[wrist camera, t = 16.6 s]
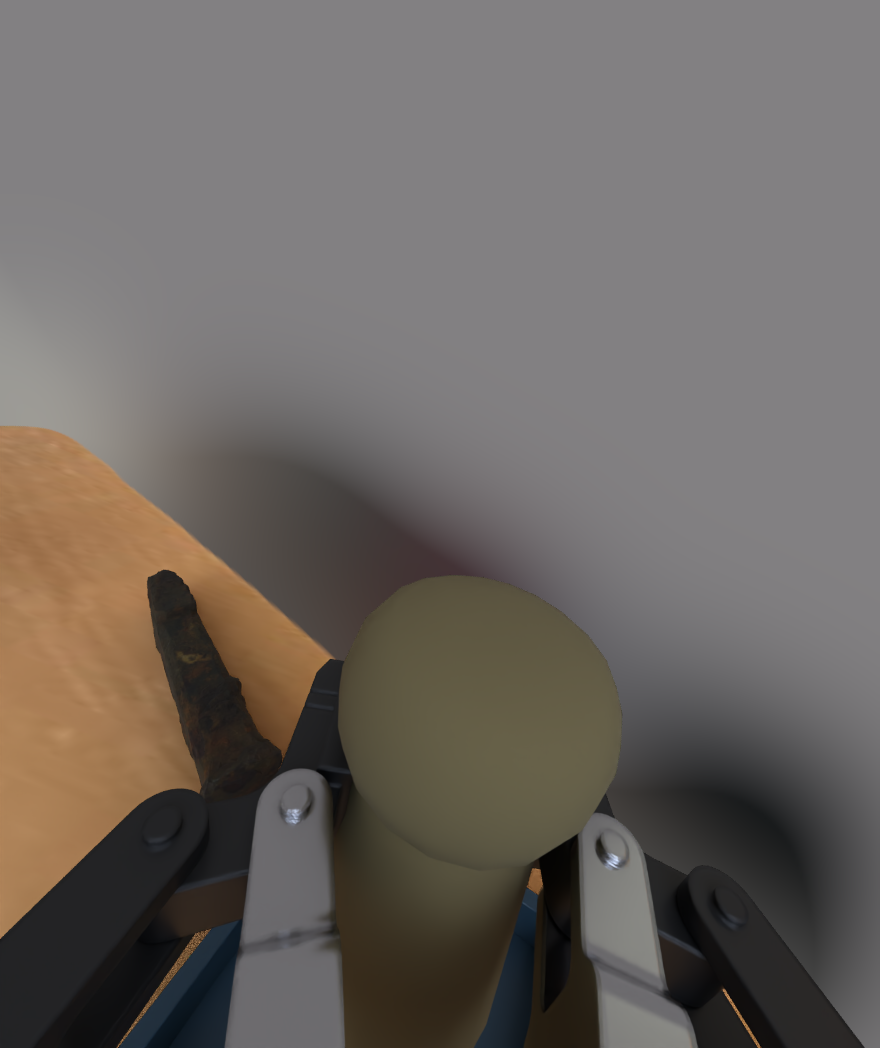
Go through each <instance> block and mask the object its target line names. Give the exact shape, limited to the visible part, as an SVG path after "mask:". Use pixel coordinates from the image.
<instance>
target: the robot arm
mask: <svg viewBox="0 0 880 1048" xmlns="http://www.w3.org/2000/svg"><path fill="white" fill-rule="evenodd" d="M343 664H344V661H340V660H334V659H330V660H329V661H328V662H327V663H326V664H325V665H324V666H323V667H322V668H321V669H320V670H319V671H318V672H317V673H316V676H315V679H314V681H313V684H312V686H311V689H310V693H309V694H308V697H307V700H306V702H305V706H304V707H303V710H302V713H301V715H300V718H299V721H298V723H297V726H296V728H295V731H294V734H293V736H292V739H291V742H290V744H289V747H288V749H287V752H286V755H285V757H284V760H283V762H282V765H281V767H280V768H279V770H278V772H277V773H276V774H275V775H274V777H273V778H272V779H271V780H270V781H269V782H268V783H267V784H265V785H264V786H263V787H261V788H260V789H258V790H256V791H254V792H252V793H250V794H247V795H245V796H241V797H237V798H232V799H227V800H222V801H216V802H211V803H206V801H205V799H204V798H203V797H202V796H201V795H200V794H198V793H197V792H195V791H192V790H189V789H171V790H167V791H163V792H161V793H158V794H156V795H154V796H152V797H150V798H148V799H146V800H145V801H144V802H142V803H141V804H139V805H138V806H137V807H136V808H135V809H134V810H132V811H131V812H130V813H129V814H128V815H127V816H126V817H125V818H124V819H123V820H122V821H121V822H120V823H119V824H118V825H117V826H116V827H115V828H114V829H113V830H112V831H111V832H110V833H109V834H108V835H107V836H106V837H105V838H104V839H103V840H102V841H101V842H100V843H98V844H97V845H96V846H95V847H94V848H93V849H92V850H91V851H90V852H89V853H88V854H87V855H86V856H85V857H84V858H83V859H82V860H81V861H80V862H79V863H78V864H77V865H76V866H75V867H74V868H73V869H72V870H71V871H70V872H69V873H68V874H67V875H66V876H65V877H63V878H62V879H61V880H60V881H59V882H58V883H57V884H56V885H55V886H54V887H53V888H52V889H51V890H50V891H49V892H48V893H47V894H46V895H45V896H44V897H43V898H42V899H41V900H40V901H39V902H38V903H37V904H36V905H35V906H34V907H33V908H32V909H31V910H30V911H29V912H27V913H26V914H25V915H24V916H23V917H22V918H21V919H20V920H19V921H18V922H17V923H16V924H15V925H14V926H13V927H12V928H11V929H10V930H9V931H8V932H7V933H6V934H5V935H4V936H3V937H2V938H1V939H0V1048H116V1047H117V1046H118V1044H119V1043H120V1041H121V1040H122V1038H123V1037H124V1036H125V1034H126V1033H127V1031H128V1030H129V1028H130V1027H131V1025H132V1024H133V1023H134V1021H135V1020H136V1018H137V1017H138V1015H139V1014H140V1012H141V1011H142V1010H143V1008H144V1007H145V1005H146V1004H147V1002H148V1001H149V1000H150V998H151V997H152V995H153V994H154V992H155V991H156V989H157V988H158V987H159V985H160V984H161V982H162V981H163V979H164V978H165V976H166V975H167V974H168V972H169V971H170V969H171V968H172V966H173V965H174V963H175V962H176V961H177V959H178V958H179V956H180V955H181V953H182V952H183V950H184V949H185V948H186V946H187V945H188V943H189V942H190V940H191V939H192V937H193V936H194V935H195V933H198V932H201V931H205V930H208V929H211V928H215V927H218V926H221V925H225V924H228V923H231V922H235V921H238V920H242V919H243V922H242V930H241V938H240V944H239V949H238V953H237V959H236V965H235V972H234V979H233V986H232V994H231V1002H230V1009H229V1017H228V1025H227V1033H226V1041H225V1048H345V1035H344V1005H343V976H342V952H341V939H340V932H339V928H338V926H337V922H336V906H335V868H334V838H335V836H336V834H337V831H338V829H339V827H340V825H341V823H342V821H343V818H344V816H345V813H346V808H347V803H348V798H349V794H350V789H351V784H352V779H353V778H352V775H351V772H350V769H349V766H348V763H347V760H346V757H345V754H344V751H343V748H342V743H341V738H340V734H339V729H338V712H339V688H340V680H341V673H342V666H343ZM532 868H536V869H540V871H541V876H542V882H543V886H542V887H541V889H540V891H539V894H538V898H537V913H536V932H535V952H534V972H533V992H532V1009H531V1017H530V1023H529V1028H528V1031H527V1035H526V1038H525V1042H524V1047H523V1048H758V1047H757V1046H756V1044H755V1043H754V1041H753V1039H752V1038H751V1036H750V1034H749V1033H748V1031H747V1030H746V1028H745V1026H744V1025H743V1023H742V1021H741V1020H740V1018H739V1017H738V1015H737V1013H736V1012H735V1010H734V1009H733V1007H732V1005H731V1004H730V1002H729V1000H728V999H727V997H726V996H725V994H724V992H723V991H722V990H723V989H724V988H725V990H726V991H727V993H728V995H729V996H730V998H731V999H732V1001H733V1003H734V1004H735V1006H736V1007H737V1009H738V1011H739V1012H740V1014H741V1016H742V1017H743V1019H744V1020H745V1022H746V1024H747V1025H748V1027H749V1028H750V1030H751V1032H752V1033H753V1035H754V1036H755V1038H756V1040H757V1041H758V1043H759V1044H760V1046H761V1048H864V1046H863V1045H862V1044H861V1042H860V1041H859V1040H858V1038H857V1037H856V1036H855V1035H854V1034H853V1032H852V1030H851V1029H850V1028H849V1027H848V1025H847V1024H846V1023H845V1021H844V1020H843V1019H842V1017H841V1016H840V1015H839V1013H838V1012H837V1011H836V1009H835V1008H834V1007H833V1006H832V1004H831V1003H830V1002H829V1000H828V999H827V998H826V996H825V995H824V994H823V992H822V991H821V990H820V989H819V987H818V986H817V984H816V983H815V982H814V981H813V979H812V978H811V977H810V975H809V974H808V973H807V971H806V970H805V969H804V967H803V966H802V965H801V963H800V962H799V961H798V959H797V958H796V957H795V956H794V954H793V953H792V952H791V950H790V949H789V948H788V947H787V945H786V944H785V942H784V941H783V940H782V939H781V937H780V936H779V935H778V933H777V932H776V931H775V929H774V928H773V927H772V925H771V924H770V923H769V922H768V920H767V919H766V917H765V916H764V915H763V913H762V912H761V911H760V910H759V908H758V907H757V906H756V904H755V903H754V902H753V900H752V899H751V898H750V897H749V895H748V894H747V893H746V892H745V891H744V890H743V889H742V888H741V887H740V885H739V884H737V883H736V882H735V881H734V880H733V879H732V878H730V877H729V876H728V875H726V874H725V873H723V872H721V871H720V870H718V869H716V868H713V867H710V866H703V865H702V866H697V867H695V868H694V869H693V870H692V871H691V872H690V874H688V875H686V874H684V873H682V872H679V871H678V870H675V869H674V868H672V867H670V866H668V865H665V864H664V863H662V862H660V861H658V860H656V859H654V858H652V857H650V856H649V855H647V854H645V853H644V852H643V851H642V849H641V847H640V845H639V843H638V842H637V841H636V839H635V837H634V836H633V835H632V834H631V832H630V831H629V830H628V829H627V828H626V827H625V826H624V825H622V824H621V823H620V822H619V821H617V820H616V819H615V818H614V815H613V813H612V810H611V807H610V804H609V801H608V798H607V796H606V793H605V794H604V796H603V798H602V800H601V801H600V803H599V805H598V807H597V808H596V810H595V811H594V813H593V814H592V816H591V818H590V819H589V821H588V822H587V824H586V825H585V827H584V828H583V830H582V831H581V832H579V833H578V834H576V835H575V836H573V837H571V838H570V839H568V840H567V841H565V842H563V843H562V844H560V845H559V846H557V847H555V848H554V849H552V850H551V851H549V852H547V853H546V854H544V855H543V856H541V857H539V858H538V859H536V860H534V864H533V867H532Z"/></svg>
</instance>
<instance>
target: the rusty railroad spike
mask: <svg viewBox="0 0 880 1048" xmlns="http://www.w3.org/2000/svg"><path fill="white" fill-rule="evenodd" d="M147 588H148V598H149V606H150V609H151V617H152V623H153V628H154V637H155V642H156V648H157V649H158V651H159V653H160V654H161V657H162V661H163V664H164V669H165V672H166V675H167V679H168V682H169V686H170V689H171V693H172V696H173V698H174V700H175V702H176V706H177V709H178V712H179V715H180V723H181V726H182V732H183V736H184V739H185V742H186V745H187V746H188V748H189V752H190V755H191V757H192V758H193V760H194V761H195V765H196V768H197V771H198V774H199V778H200V782H201V786H202V788H201V790H200V795H201V796H202V797H203V798H204V799H205V801H206V803H211V802H216V801H222V800H227V799H232V798H237V797H241V796H245V795H247V794H250V793H252V792H254V791H256V790H258V789H260V788H261V787H263V786H264V785H265V784H267V783H268V782H269V781H270V780H271V779H272V778H273V777H274V775H275V774H276V773H277V772H278V770H279V768H280V765H281V764H282V754H281V750H280V749H278V748H277V747H276V746H274V745H273V744H272V743H271V742H270V741H269V740H268V739H264V738H263V737H262V736H261V735H260V734H259V732H258V730H257V729H256V726H255V724H254V722H253V720H252V718H251V716H250V714H249V713H248V711H247V709H246V703H245V699H244V697H243V696H242V695H241V682H240V681H239V679H238V678H235V677H231V676H230V675H229V673H228V672H227V670H226V667H225V666H224V664H223V662H222V660H221V657H220V655H219V653H218V651H217V650H216V648H215V647H214V645H213V642H212V640H211V638H210V637H209V635H208V633H207V631H206V629H205V627H204V625H203V624H202V621H201V619H200V617H199V615H198V613H197V606H196V601H195V599H194V597H193V595H192V594H191V593H190V590H189V587H188V586H187V585H186V584H184V582H183V580H182V578H180V577H179V576H177V575H176V573H175V572H172V571H169V570H162V571H160V572H158V573H157V574H155V575H153V576H151V577H148V580H147Z"/></svg>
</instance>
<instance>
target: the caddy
mask: <svg viewBox="0 0 880 1048" xmlns="http://www.w3.org/2000/svg"><path fill="white" fill-rule="evenodd" d="M537 898H538V895H537V894H536V893H534V892H533V891H531V890H530V889H528V888H526V891H525V894H524V898H523V901H522V905H521V908H520V911H519V915H518V918H517V922H516V925H515V928H514V932H513V935H512V939H511V942H510V945H509V949H508V952H507V956H506V959H505V962H504V966H503V969H502V973H501V976H500V979H499V983H498V986H497V990H496V993H495V996H494V1000H493V1003H492V1007H491V1010H490V1013H489V1017H488V1020H487V1024H486V1026H485V1028H484V1030H483V1032H482V1033H481V1035H480V1037H479V1039H478V1041H477V1042H476V1044H475V1046H474V1048H523V1047H524V1042H525V1038H526V1035H527V1031H528V1028H529V1023H530V1017H531V1009H532V992H533V972H534V952H535V932H536V913H537ZM242 922H243V919H242V920H238V921H235V922H231V923H228V924H225V925H221V926H218V927H215V928H212V929H211V930H210V931H209V933H208V934H207V935H206V936H205V938H204V939H203V940H202V941H201V943H200V944H199V945H198V947H197V948H196V949H195V950H194V952H193V953H192V954H191V955H190V957H189V958H188V959H187V961H186V962H185V963H184V964H183V966H182V967H181V968H180V969H179V971H178V972H177V973H176V975H175V976H174V977H173V978H172V980H171V981H170V982H169V983H168V985H167V986H166V987H165V989H164V990H163V991H162V992H161V994H160V995H159V996H158V998H157V999H156V1000H155V1001H154V1003H153V1004H152V1005H151V1006H150V1008H149V1009H148V1010H147V1012H146V1013H145V1014H144V1015H143V1017H142V1018H141V1019H140V1020H139V1022H138V1023H137V1024H136V1026H135V1027H134V1028H133V1029H132V1031H131V1032H130V1033H129V1034H128V1036H127V1037H126V1038H125V1040H124V1041H123V1042H122V1043H121V1045H120V1046H119V1047H118V1048H225V1041H226V1033H227V1025H228V1017H229V1009H230V1002H231V994H232V986H233V979H234V972H235V965H236V959H237V953H238V949H239V944H240V938H241V930H242Z"/></svg>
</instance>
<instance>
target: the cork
mask: <svg viewBox="0 0 880 1048" xmlns="http://www.w3.org/2000/svg"><path fill="white" fill-rule="evenodd" d="M338 729H339V734H340V738H341V743H342V748H343V751H344V754H345V757H346V760H347V763H348V766H349V769H350V772H351V775H352V778H353V779H352V784H351V789H350V794H349V798H348V803H347V808H346V813H345V816H344V818H343V821H342V823H341V825H340V827H339V829H338V831H337V834H336V836H335V838H334V868H335V906H336V922H337V926H338V928H339V932H340V939H341V952H342V976H343V1005H344V1035H345V1048H474V1046H475V1044H476V1042H477V1041H478V1039H479V1037H480V1035H481V1033H482V1032H483V1030H484V1028H485V1026H486V1024H487V1020H488V1017H489V1013H490V1010H491V1007H492V1003H493V1000H494V996H495V993H496V990H497V986H498V983H499V979H500V976H501V973H502V969H503V966H504V962H505V959H506V956H507V952H508V949H509V945H510V942H511V939H512V935H513V932H514V928H515V925H516V922H517V918H518V915H519V911H520V908H521V905H522V901H523V898H524V894H525V891H526V888H527V884H528V881H529V877H530V874H531V871H532V867H533V864H534V860H536V859H538V858H539V857H541V856H543V855H544V854H546V853H547V852H549V851H551V850H552V849H554V848H555V847H557V846H559V845H560V844H562V843H563V842H565V841H567V840H568V839H570V838H571V837H573V836H575V835H576V834H578V833H579V832H581V831H582V830H583V828H584V827H585V825H586V824H587V822H588V821H589V819H590V818H591V816H592V814H593V813H594V811H595V810H596V808H597V807H598V805H599V803H600V801H601V800H602V798H603V796H604V794H605V793H606V791H607V789H608V787H609V786H610V784H611V782H612V780H613V779H614V777H615V775H616V770H617V765H618V760H619V755H620V749H621V731H622V710H621V706H620V701H619V697H618V692H617V688H616V685H615V682H614V680H613V677H612V674H611V671H610V669H609V666H608V663H607V660H606V659H605V658H604V656H603V655H602V654H601V652H600V651H599V650H598V648H597V647H596V645H595V644H594V643H593V641H592V640H591V639H590V637H589V636H588V635H587V634H586V633H585V632H584V631H583V630H582V629H580V628H579V627H578V626H577V625H576V624H575V623H574V622H573V621H571V620H570V619H569V618H568V617H567V616H566V615H565V614H563V613H562V612H561V611H560V610H558V609H557V608H555V607H553V606H552V605H550V604H549V603H547V602H546V601H544V600H542V599H541V598H539V597H538V596H536V595H534V594H532V593H529V592H527V591H524V590H522V589H520V588H517V587H515V586H513V585H510V584H507V583H503V582H499V581H495V580H491V579H487V578H484V577H472V576H460V575H450V576H440V577H432V578H424V579H421V580H419V581H416V582H413V583H411V584H408V585H406V586H403V587H401V588H400V589H398V590H397V591H396V592H395V593H394V594H393V595H391V596H390V597H389V598H388V599H387V600H386V601H385V602H383V603H382V604H381V605H380V606H379V607H378V608H376V609H375V610H374V611H373V612H372V613H371V614H370V615H368V616H367V617H366V618H365V621H364V622H363V625H362V627H361V629H360V630H359V632H358V634H357V636H356V638H355V641H354V643H353V645H352V647H351V649H350V651H349V653H348V655H347V657H346V659H345V661H344V664H343V666H342V673H341V680H340V688H339V712H338Z"/></svg>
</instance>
